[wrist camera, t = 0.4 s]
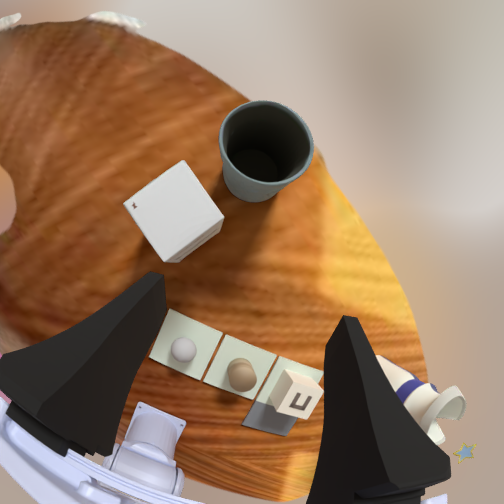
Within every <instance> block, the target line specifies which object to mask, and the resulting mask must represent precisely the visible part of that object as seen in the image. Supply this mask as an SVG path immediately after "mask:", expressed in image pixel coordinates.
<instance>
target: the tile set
mask: <svg viewBox="0 0 504 504" xmlns="http://www.w3.org/2000/svg"><path fill="white" fill-rule="evenodd" d="M222 334H223V333H222V332H220V331H218V330H215V329H213V328H211V327H209V326H206V325H204V324H202V323H200V322H198V321H196V320H193V319H191V318H189V317H187V316H185V315H183V314H181V313H179V312H177V311H175V310H173V309H171V308H170V309H169V311H168V314H167V316H166V318H165V320H164V323H163V325H162V327H161V330H160V332H159V334H158V337H157V339H156V341H155V344H154V346H153V349H152V351H151V354H150V356H149V357H150V358H152V359H154V360H156V361H158V362H160V363H162V364H164V365H166V366H169V367H171V368H173V369H175V370H177V371H180V372H182V373H184V374H186V375H189V376H191V377H193V378H196V379H198V380H200V379H201V377H202V375H203V373H204V371H205V369H206V367H207V365H208V363H209V361H210V359H211V357H212V354H213V352H214V350H215V348H216V346H217V344H218V342H219V340H220V338H221V336H222ZM180 337H186V338H189V339H191V340H192V341H193V342H194V343H195V345H196V349H197V352H196V356H195V357H194V359H193V360H191V361H190V362H187V363H182V362H179V361H177V360H175V359H174V358H173V356H172V354H171V345H172V343H173V341H174V340H176V339H177V338H180ZM276 356H277V355H276V354H273V353H271V352H268V351H266V350H263V349H261V348H258V347H256V346H253V345H251V344H248V343H246V342H243V341H241V340H239V339H236V338H234V337H231V336H229V335H227V334H226V335H225V337H224V339H223V341H222V343H221V345H220V347H219V349H218V351H217V353H216V355H215V357H214V360H213V362H212V364H211V366H210V368H209V370H208V372H207V374H206V376H205V378H204V380H203V382H206V383H208V384H211V385H213V386H216V387H218V388H221V389H224V390H226V391H229V392H232V393H235V394H238V395H240V396H243V397H246V398H249V399H252V400H253V399H254V397H255V395H256V393H257V392H258V390H259V388H260V386H261V384H262V382H263V381H264V379H265V377H266V375H267V373H268V371H269V369H270V367H271V366H272V364H273V362H274V360H275V358H276ZM236 358H244V359H247V360H248V361H249V362H250V363H251V365H252V367H253V369H254V372H255V374H256V377H257V382H256V385H255V386H254V388H253V389H251V390H250V391H247V392H238V391H236V390H234V389H233V388H232V387H231V386H230V383H229V377H228V371H227V368H228V365H229V363H230V362H231V361H232V360H234V359H236ZM284 369H287V370H290V371H293V372H296V373H299V374H301V375H304V376H308V377H311V378H312V379H313V380H314V381H315V382H316V383H317V384H318V383H319V381H320V379H321V377H322V375H323V374H324V372H323V371H321V370H318V369H315V368H312V367H309V366H306V365H303V364H300V363H298V362H295V361H292V360H289V359H287V358H284V357H281V356H279V357H278V359H277V361H276V363H275V365H274V366H273V368H272V370H271V372H270V374H269V376H268V378H267V380H266V381H265V383H264V385H263V387H262V389H261V391H260V392H259V394H258V396H257V398H256V401H259V402H262V403H265V404H268V405H271V406H274V405H273V403H272V401H271V399H270V397H269V395H270V393H271V392H272V390H273V388H274V386H275V384H276V383H277V381H278V379H279V377H280V375H281V373H282V371H283V370H284Z"/></svg>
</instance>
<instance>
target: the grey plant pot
mask: <svg viewBox="0 0 504 504" xmlns="http://www.w3.org/2000/svg"><path fill="white" fill-rule="evenodd" d="M219 147H220V153H221V158H222V161H223V176H224V181H225V183H226V185H227V187H228V189H229V190H230V192H231V193H232V194H233V195H235V196H236V197H237V198H239V199H240V200H244V201H247V202H262V201H265V200H268V199H269V198H271V197H273V196H274V195H275V194H276V193H277V192H279V191H280V190H281V189H283V188H284V187H285V186H287V185H288V184H289V183H291V182H292V181H294V180H296V179H297V178H299V177H300V176H301V175H302V174H303V173H304V172H305V171H306V170H307V168H308V167H309V165H310V163H311V160H312V157H313V152H314V144H313V138H312V135H311V132H310V130H309V128H308V126H307V125H306V123H305V122H304V121H303V119H302V118H301V117H300V116H299V115H298V114H297V113H296V112H294V111H293V110H292V109H290V108H288V107H287V106H284V105H282V104H279V103H276V102H272V101H252V102H248V103H245V104H243V105H240V106H239V107H237V108H235V109H234V110H233V111H231V112H230V113H229V114H228V115H227V117H226V118H225V119H224V121H223V123H222V125H221V128H220V131H219Z"/></svg>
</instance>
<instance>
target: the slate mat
mask: <svg viewBox="0 0 504 504" xmlns="http://www.w3.org/2000/svg"><path fill="white" fill-rule="evenodd" d="M297 418H298V417H295V416H291V415H287V414H284V413H280V412H276V409H275V407H274V406H271V405H268V404H265V403H262V402H259V401H256V400H255V401H254V403H253V405H252V407H251V408H250V410H249V412H248V414H247V415H246V417H245V419H244V421H243V422H242V425H245V426H248V427H252V428H255V429H259V430H263V431H267V432H271V433H275V434H279V435H283V436H287V434H288V433H289V431H290V429H291V428H292V426H293V425H294V423H295V422H296V420H297Z"/></svg>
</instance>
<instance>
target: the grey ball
mask: <svg viewBox="0 0 504 504" xmlns="http://www.w3.org/2000/svg"><path fill="white" fill-rule="evenodd" d="M196 352H197V349H196V345H195V343H194V342H193V341H192V340H191V339H189V338H186V337H180V338H177V339H176V340H174V341H173V343H172V345H171V354H172V356H173V358H174V359H175V360H177V361H179V362H182V363H187V362H190V361H191V360H193V359H194V357H195V356H196Z"/></svg>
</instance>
